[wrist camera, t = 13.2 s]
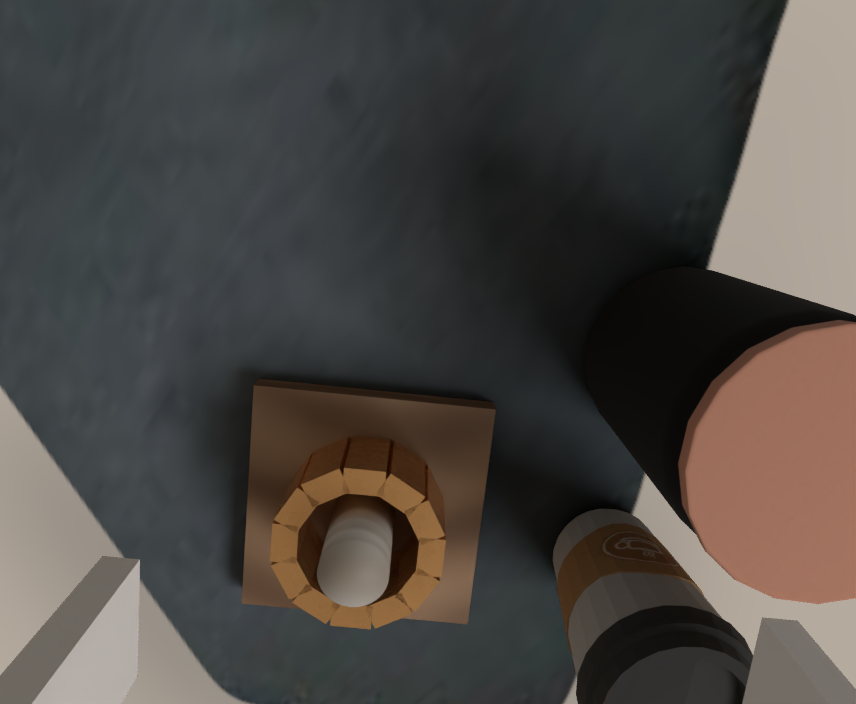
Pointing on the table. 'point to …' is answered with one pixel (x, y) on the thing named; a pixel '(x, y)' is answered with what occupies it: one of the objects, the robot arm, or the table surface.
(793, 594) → the coffee jar
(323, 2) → the table surface
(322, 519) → the post block
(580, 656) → the coffee cup
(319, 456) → the orange ring
